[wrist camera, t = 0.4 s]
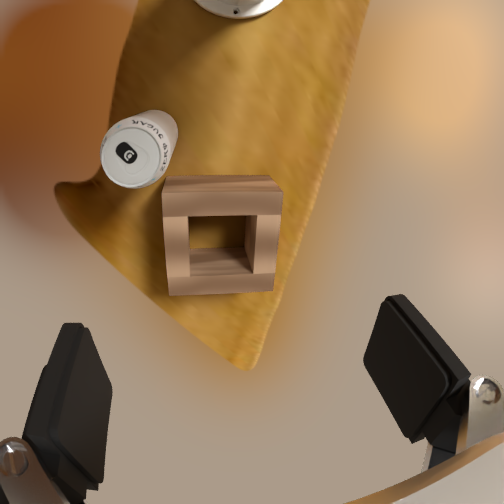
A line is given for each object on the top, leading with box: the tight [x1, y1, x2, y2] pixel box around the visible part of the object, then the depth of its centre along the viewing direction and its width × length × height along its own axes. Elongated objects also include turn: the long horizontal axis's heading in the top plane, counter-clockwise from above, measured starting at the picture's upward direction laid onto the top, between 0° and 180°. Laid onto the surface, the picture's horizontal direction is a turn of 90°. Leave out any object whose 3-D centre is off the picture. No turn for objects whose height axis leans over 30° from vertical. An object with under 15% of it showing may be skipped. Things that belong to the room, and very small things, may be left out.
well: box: [162, 175, 283, 296], centre depth 39 cm, size 13×13×7 cm
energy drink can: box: [100, 110, 178, 189], centre depth 28 cm, size 6×6×15 cm
